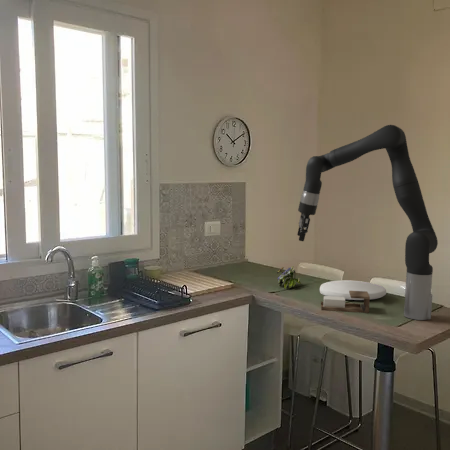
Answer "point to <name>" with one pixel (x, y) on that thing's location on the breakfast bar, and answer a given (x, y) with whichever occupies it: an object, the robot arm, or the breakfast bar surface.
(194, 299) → the breakfast bar surface
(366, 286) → the plate
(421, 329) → the breakfast bar surface
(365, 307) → the dock
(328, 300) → the white rectangular block
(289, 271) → the passion flower
